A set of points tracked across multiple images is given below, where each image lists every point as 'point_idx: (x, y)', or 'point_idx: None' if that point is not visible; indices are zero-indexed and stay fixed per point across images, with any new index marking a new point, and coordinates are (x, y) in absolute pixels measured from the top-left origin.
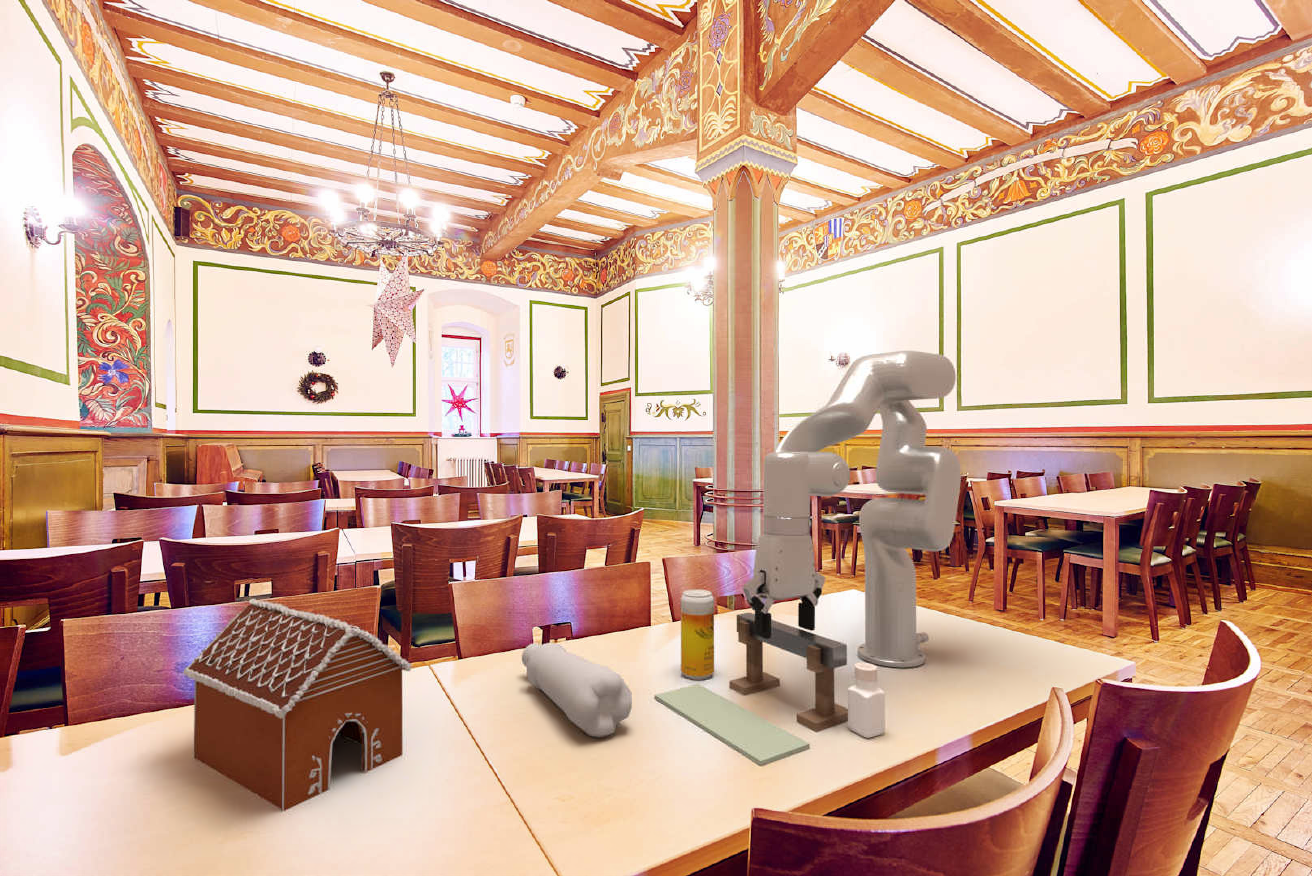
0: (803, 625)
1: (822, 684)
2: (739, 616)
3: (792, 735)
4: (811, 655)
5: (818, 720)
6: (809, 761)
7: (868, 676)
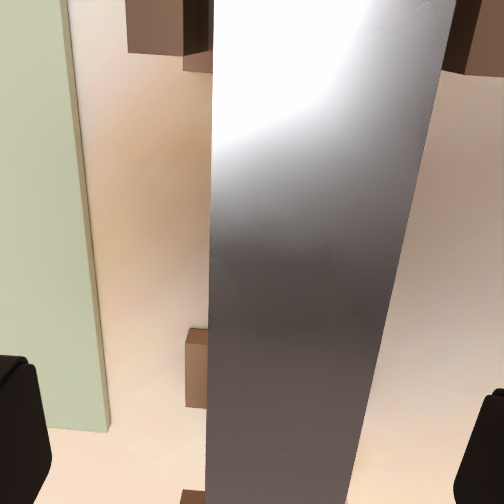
0: (480, 449)
1: None
2: None
3: (97, 390)
4: None
5: (205, 401)
6: (68, 451)
7: None
